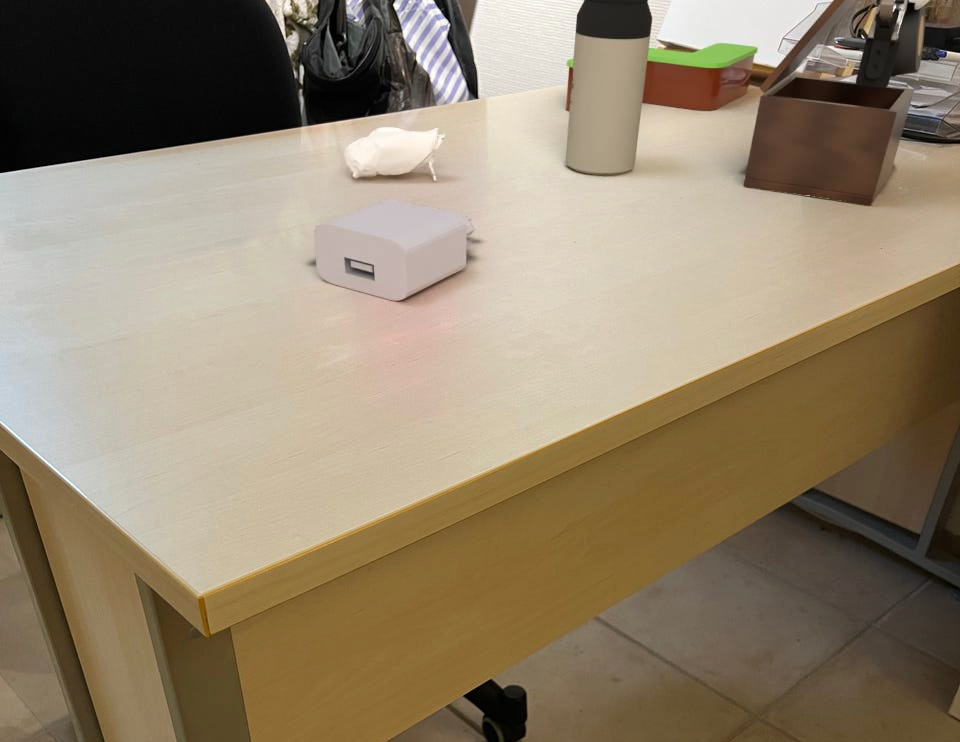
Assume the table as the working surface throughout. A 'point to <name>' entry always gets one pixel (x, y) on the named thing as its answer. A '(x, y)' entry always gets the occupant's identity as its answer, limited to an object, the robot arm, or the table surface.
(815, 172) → the chest
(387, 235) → the charger
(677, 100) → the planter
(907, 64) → the tape
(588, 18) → the travel mug
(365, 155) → the bird figurine
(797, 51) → the lid
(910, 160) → the table surface
